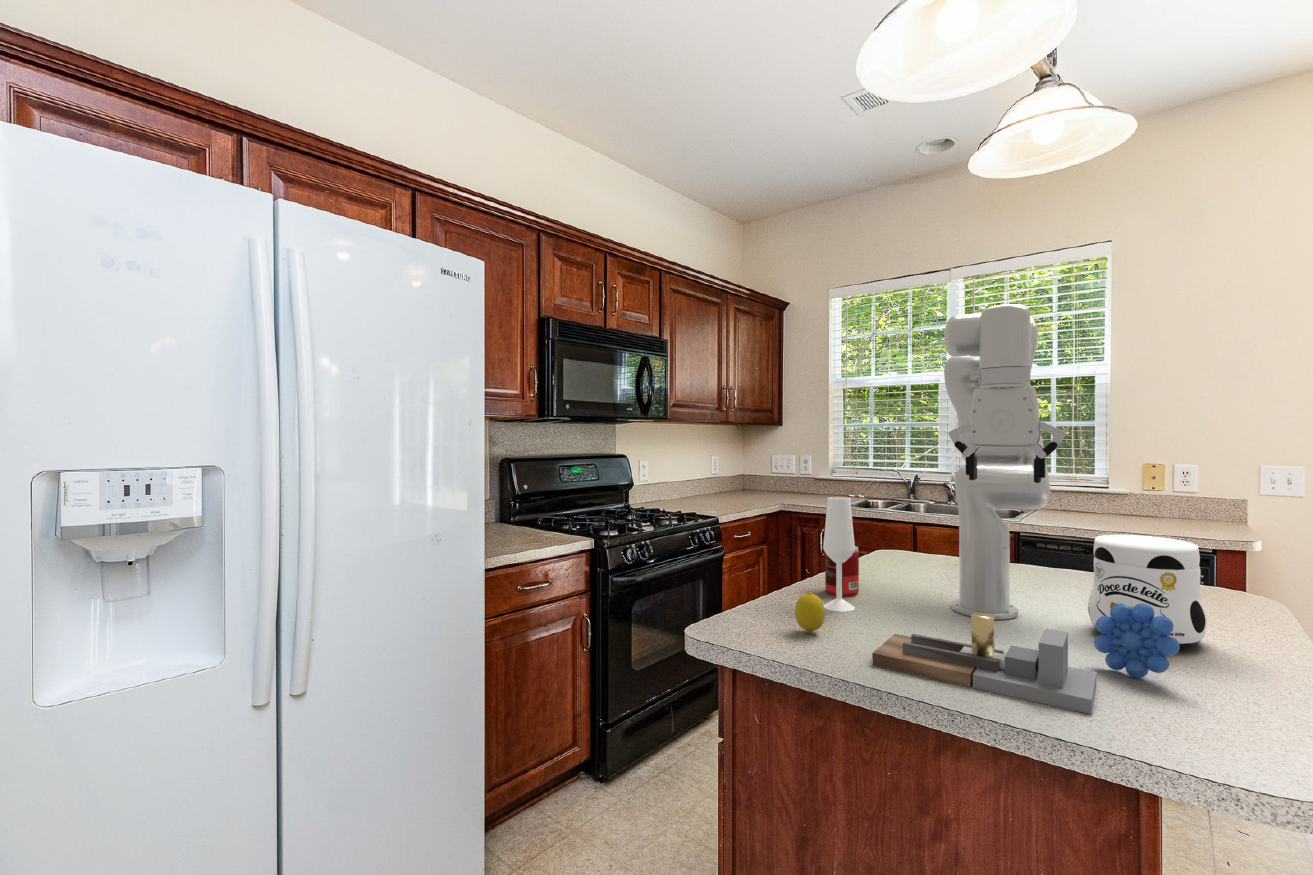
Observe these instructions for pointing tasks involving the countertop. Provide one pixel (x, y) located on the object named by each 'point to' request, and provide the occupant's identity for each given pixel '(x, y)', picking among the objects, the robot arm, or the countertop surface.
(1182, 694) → the countertop surface
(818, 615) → the lemon
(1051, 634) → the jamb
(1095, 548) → the doce de leite tub
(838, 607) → the champagne flute
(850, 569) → the canned food
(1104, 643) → the blue flower
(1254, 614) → the countertop surface
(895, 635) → the wooden block with rails
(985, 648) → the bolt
